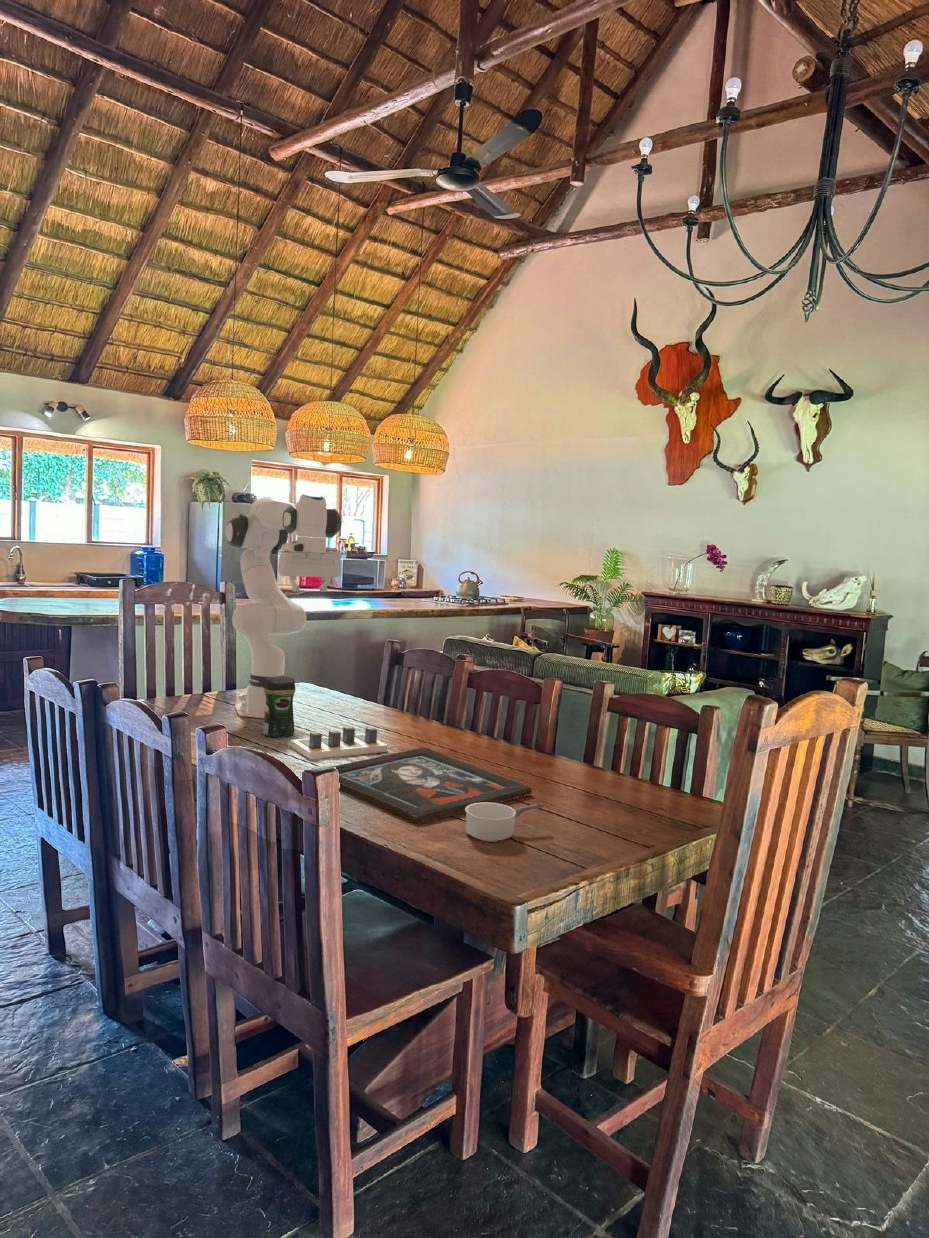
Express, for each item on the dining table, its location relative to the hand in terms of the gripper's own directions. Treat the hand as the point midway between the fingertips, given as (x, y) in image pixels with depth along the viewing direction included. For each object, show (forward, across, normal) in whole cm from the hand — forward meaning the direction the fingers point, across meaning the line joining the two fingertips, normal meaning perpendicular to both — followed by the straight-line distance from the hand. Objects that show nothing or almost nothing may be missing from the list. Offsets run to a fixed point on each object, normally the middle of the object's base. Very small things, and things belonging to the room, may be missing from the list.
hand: (309, 591), depth 252 cm
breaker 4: (+44, -12, +21) cm, 50 cm away
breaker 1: (+44, +6, +19) cm, 48 cm away
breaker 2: (+44, 0, +20) cm, 48 cm away
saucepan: (+48, -2, +94) cm, 106 cm away
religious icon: (+47, -4, +57) cm, 74 cm away
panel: (+46, -3, +17) cm, 49 cm away
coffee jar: (+46, +6, -6) cm, 47 cm away
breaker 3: (+44, -6, +17) cm, 48 cm away
